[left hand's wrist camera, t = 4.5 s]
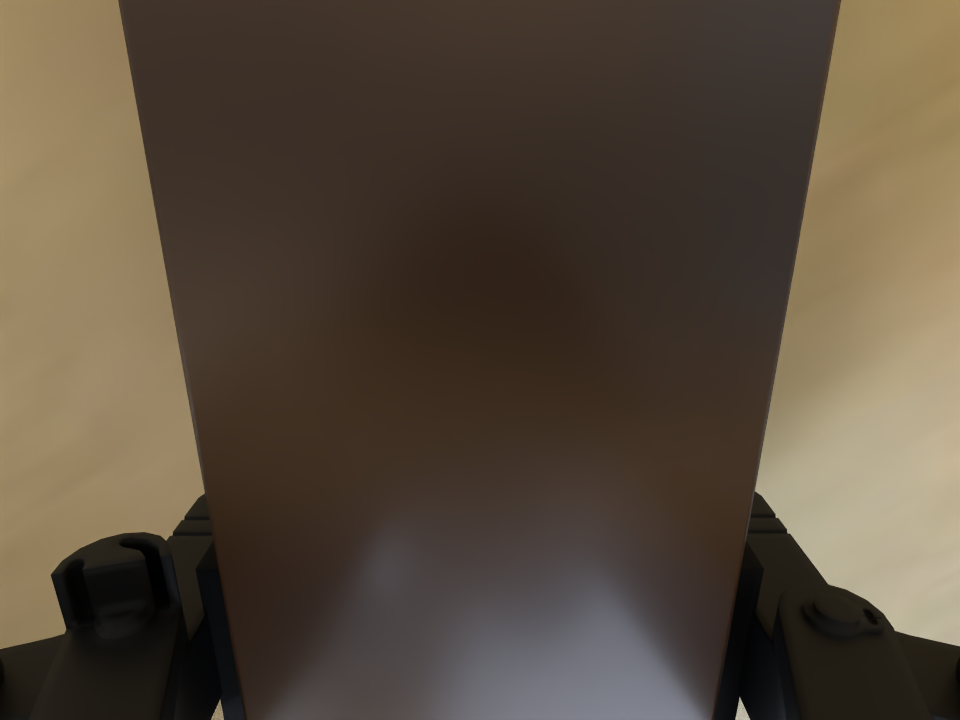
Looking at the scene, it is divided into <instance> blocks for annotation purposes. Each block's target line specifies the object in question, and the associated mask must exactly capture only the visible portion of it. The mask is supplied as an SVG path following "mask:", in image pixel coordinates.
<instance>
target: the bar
mask: <svg viewBox="0 0 960 720" xmlns="http://www.w3.org/2000/svg"><path fill="white" fill-rule="evenodd" d="M118 1H119V7H120V13H121V18H122V24H123V30H124V35H125V41H126V47H127V52H128V58H129V64H130V69H131V75H132V81H133V86H134V92H135V98H136V103H137V109H138V115H139V121H140V126H141V132H142V138H143V143H144V149H145V155H146V160H147V166H148V172H149V177H150V183H151V189H152V194H153V200H154V206H155V211H156V217H157V223H158V228H159V234H160V240H161V246H162V251H163V257H164V263H165V268H166V274H167V280H168V285H169V291H170V297H171V302H172V308H173V314H174V319H175V325H176V331H177V336H178V342H179V348H180V353H181V359H182V365H183V371H184V376H185V382H186V388H187V393H188V399H189V405H190V410H191V416H192V422H193V427H194V433H195V439H196V444H197V450H198V456H199V461H200V467H201V473H202V478H203V484H204V490H205V496H206V501H207V507H208V513H209V518H210V524H211V530H212V535H213V541H214V547H215V552H216V558H217V564H218V569H219V575H220V581H221V586H222V592H223V598H224V603H225V609H226V615H227V621H228V626H229V632H230V638H231V643H232V649H233V655H234V660H235V666H236V672H237V677H238V683H239V689H240V694H241V700H242V706H243V711H244V717H245V720H714V719H715V713H716V708H717V702H718V696H719V691H720V685H721V679H722V674H723V668H724V662H725V657H726V651H727V645H728V639H729V634H730V628H731V622H732V617H733V611H734V605H735V600H736V594H737V588H738V583H739V577H740V571H741V566H742V560H743V554H744V549H745V543H746V537H747V532H748V526H749V520H750V514H751V509H752V503H753V497H754V492H755V486H756V480H757V475H758V469H759V463H760V458H761V452H762V446H763V441H764V435H765V429H766V424H767V418H768V412H769V407H770V401H771V395H772V389H773V384H774V378H775V372H776V367H777V361H778V355H779V350H780V344H781V338H782V333H783V327H784V321H785V316H786V310H787V304H788V299H789V293H790V287H791V282H792V276H793V270H794V264H795V259H796V253H797V247H798V242H799V236H800V230H801V225H802V219H803V213H804V208H805V202H806V196H807V191H808V185H809V179H810V174H811V168H812V162H813V157H814V151H815V145H816V139H817V134H818V128H819V122H820V117H821V111H822V105H823V100H824V94H825V88H826V83H827V77H828V71H829V66H830V60H831V54H832V49H833V43H834V37H835V31H836V26H837V20H838V14H839V9H840V3H841V0H118Z"/></svg>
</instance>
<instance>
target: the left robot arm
mask: <svg viewBox="0 0 960 720" xmlns="http://www.w3.org/2000/svg"><path fill="white" fill-rule="evenodd" d="M51 577H52V581H53V584H54V588H55V591H56V595H57V598H58V601H59V605H60V608H61V612H62V615H63V619H64V622H65V626H66V632H65V634H62V635H59V636H56V637H52V638H48V639H44V640H39V641H35V642H31V643H26V644H22V645H17V646H13V647H8V648H4V649H0V720H211V718H212V716H213V714H214V711H215V709H216V707H217V705H218V702H219V700H220V699H221V705H222V710H223V715H224V720H245V717H244V711H243V706H242V700H241V694H240V689H239V683H238V677H237V672H236V666H235V660H234V655H233V649H232V643H231V638H230V632H229V626H228V621H227V615H226V609H225V603H224V598H223V592H222V586H221V581H220V575H219V569H218V564H217V558H216V552H215V547H214V541H213V535H212V530H211V524H210V518H209V513H208V507H207V501H206V496H205V494H204V495H202V496H201V497H199V498H198V499H197V501H196V502H195V503H194V505H193V506H192V507H191V509H190V510H189V511H188V513H187V514H186V515H185V519H184V520H182V521H181V522H180V523H179V525H178V526H177V527H176V529H175V530H174V531H173V536H170V537H169V538H168V539H167V541H166V540H165V539H163V538H162V537H161V536H159V535H154V534H150V533H145V532H140V533H123V534H119V535H115V536H111V537H107V538H103V539H100V540H98V541H96V542H94V543H91V544H89V545H87V546H85V547H82V548H80V549H79V550H77V551H76V552H74V553H73V554H71V555H70V556H69V557H67V558H66V559H64V560H63V561H62V562H61V563H60V564H59V565H58V567H57V568H56V569H55V570H54V572H53V573H52V574H51ZM739 697H740V698H741V700H742V702H743V705H744V707H745V709H746V711H747V713H748V716H749V718H750V720H960V646H955V645H951V644H946V643H942V642H937V641H933V640H928V639H924V638H919V637H915V636H911V635H907V634H904V633H900V632H897V631H895V630H894V628H893V627H892V625H891V624H890V622H889V621H888V620H887V618H886V617H885V615H884V614H883V613H882V612H881V611H880V610H878V609H877V608H876V607H875V606H873V605H872V604H871V603H870V602H868V601H867V600H865V599H863V598H861V597H859V596H858V595H856V594H854V593H852V592H850V591H848V590H845V589H842V588H838V587H835V586H831V585H828V584H827V582H826V581H825V580H824V578H823V577H822V576H821V574H820V573H819V572H818V570H817V569H816V568H815V566H814V565H813V564H812V562H811V561H810V560H809V558H808V557H807V556H806V554H805V553H804V552H803V550H802V549H801V548H800V546H799V545H798V544H797V542H796V541H795V540H794V538H793V537H792V536H791V534H787V529H786V528H785V526H784V525H783V524H782V522H781V521H780V520H779V518H776V517H775V513H774V512H773V510H772V509H771V508H770V506H769V505H768V504H767V503H766V501H765V500H764V499H763V497H762V496H761V495H759V494H758V493H756V492H754V497H753V503H752V509H751V514H750V520H749V526H748V532H747V537H746V543H745V549H744V554H743V560H742V566H741V571H740V577H739V583H738V588H737V594H736V600H735V605H734V611H733V617H732V622H731V628H730V634H729V639H728V645H727V651H726V657H725V662H724V668H723V674H722V679H721V685H720V691H719V696H718V702H717V708H716V713H715V719H714V720H735V718H736V713H737V708H738V702H739Z"/></svg>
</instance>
